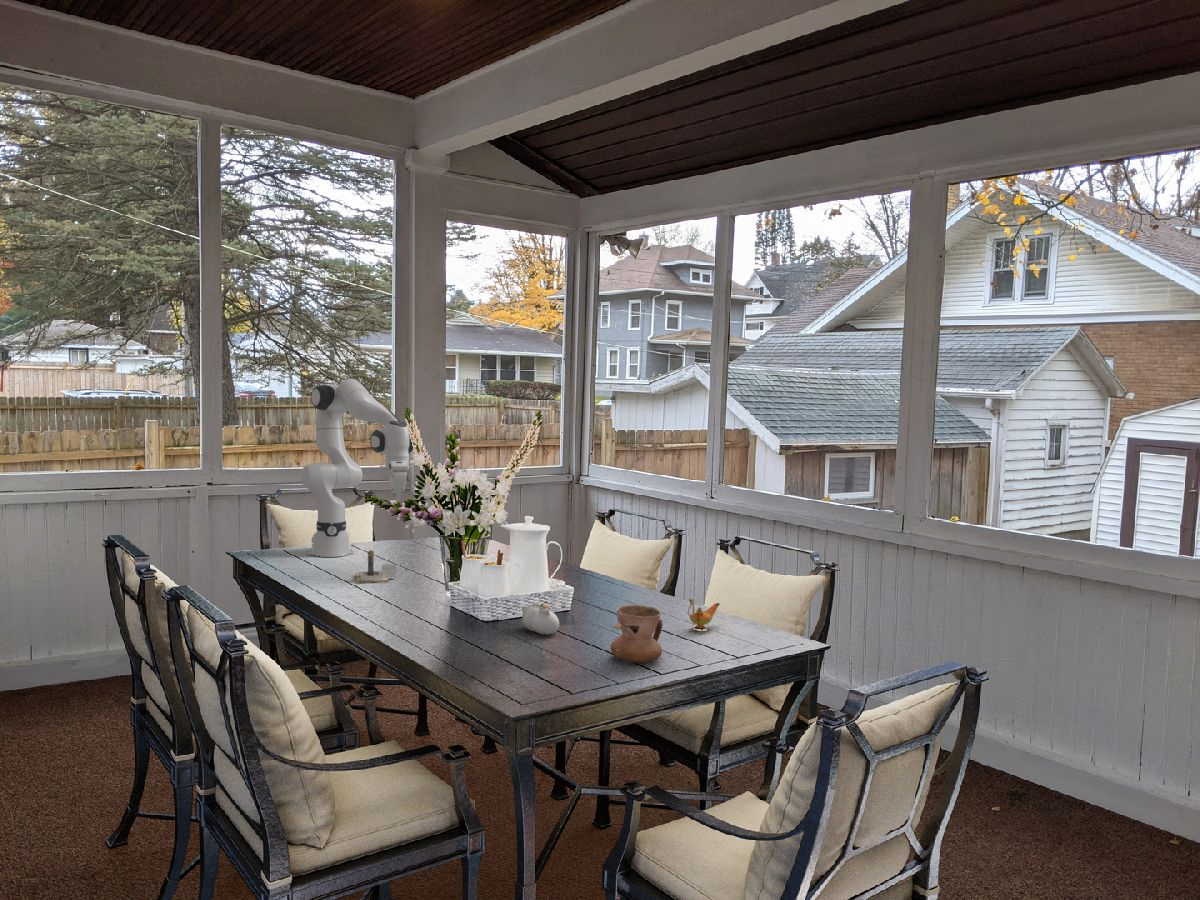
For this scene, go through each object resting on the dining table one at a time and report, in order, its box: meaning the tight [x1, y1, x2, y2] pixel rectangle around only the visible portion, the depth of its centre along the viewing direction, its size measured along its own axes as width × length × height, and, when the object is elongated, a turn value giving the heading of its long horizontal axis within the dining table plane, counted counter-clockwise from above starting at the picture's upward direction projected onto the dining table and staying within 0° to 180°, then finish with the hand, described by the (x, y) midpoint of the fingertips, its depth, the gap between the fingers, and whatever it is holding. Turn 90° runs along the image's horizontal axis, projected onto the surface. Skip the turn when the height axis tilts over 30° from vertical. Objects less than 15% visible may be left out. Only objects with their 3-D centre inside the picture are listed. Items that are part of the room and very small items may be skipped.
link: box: [358, 563, 397, 580], centre depth 335 cm, size 8×13×4 cm, turn 109°
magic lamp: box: [687, 598, 721, 630], centre depth 285 cm, size 7×18×11 cm, turn 139°
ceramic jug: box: [610, 604, 663, 664], centre depth 252 cm, size 18×14×14 cm
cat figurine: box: [520, 601, 560, 636], centre depth 275 cm, size 10×8×15 cm
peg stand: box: [354, 550, 389, 584], centre depth 336 cm, size 13×11×11 cm
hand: (396, 499), depth 343 cm, fingers open, 8 cm apart
